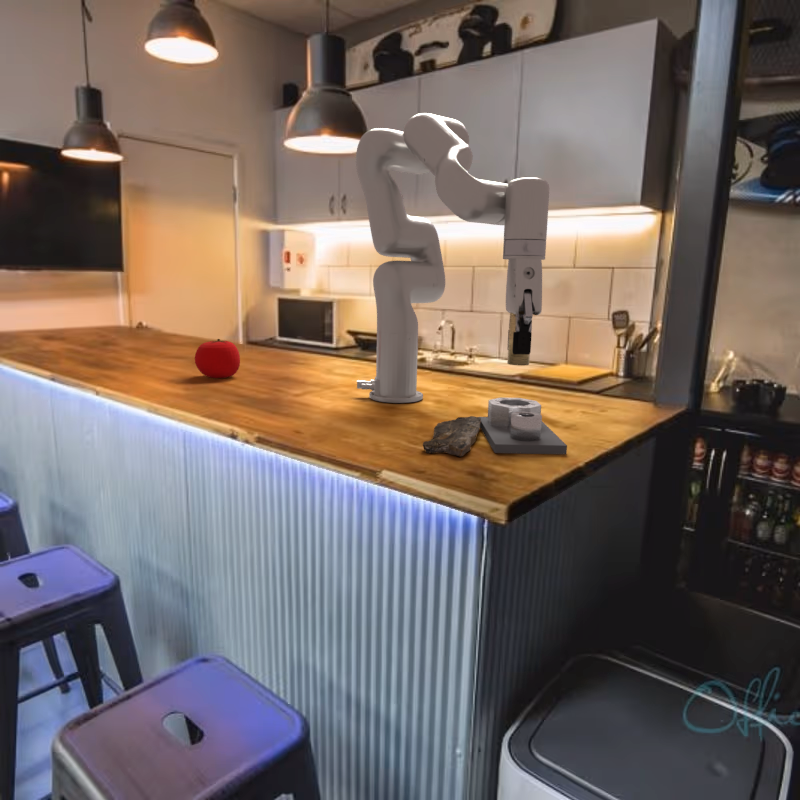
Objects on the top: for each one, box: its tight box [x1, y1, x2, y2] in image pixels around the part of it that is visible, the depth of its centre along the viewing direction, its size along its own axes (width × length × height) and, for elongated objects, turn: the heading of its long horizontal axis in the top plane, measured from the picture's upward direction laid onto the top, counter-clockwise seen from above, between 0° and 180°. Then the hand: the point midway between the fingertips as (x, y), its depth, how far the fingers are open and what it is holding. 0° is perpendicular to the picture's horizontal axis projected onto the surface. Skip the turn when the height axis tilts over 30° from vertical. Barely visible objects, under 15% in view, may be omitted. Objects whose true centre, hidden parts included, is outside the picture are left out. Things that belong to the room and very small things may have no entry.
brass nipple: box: [507, 311, 531, 366], centre depth 114 cm, size 4×4×10 cm
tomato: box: [194, 338, 241, 379], centre depth 167 cm, size 12×12×10 cm
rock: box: [422, 415, 481, 457], centre depth 110 cm, size 21×8×3 cm, turn 167°
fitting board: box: [478, 416, 568, 455], centre depth 113 cm, size 12×20×2 cm, turn 1°
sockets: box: [487, 397, 543, 441], centre depth 113 cm, size 9×18×4 cm, turn 1°
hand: (518, 351), depth 115 cm, fingers closed on brass nipple, 4 cm apart
